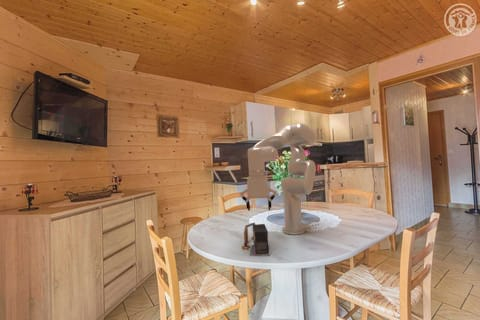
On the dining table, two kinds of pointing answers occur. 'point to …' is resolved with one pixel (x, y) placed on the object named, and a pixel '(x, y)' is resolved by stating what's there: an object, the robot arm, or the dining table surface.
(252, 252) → the rubber pad
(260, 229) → the small box
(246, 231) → the bent rod
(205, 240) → the dining table surface
